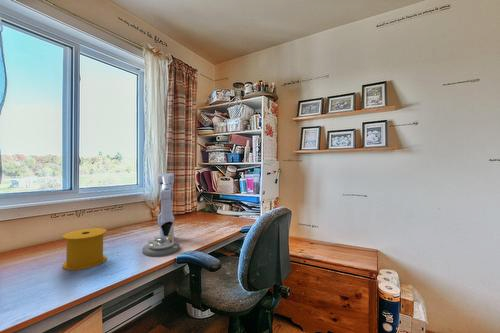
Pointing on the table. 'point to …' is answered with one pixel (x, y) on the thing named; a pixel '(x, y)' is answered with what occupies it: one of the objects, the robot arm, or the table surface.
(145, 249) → the base plate
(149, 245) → the silver round metal fixture
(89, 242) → the spool
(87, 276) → the table surface
